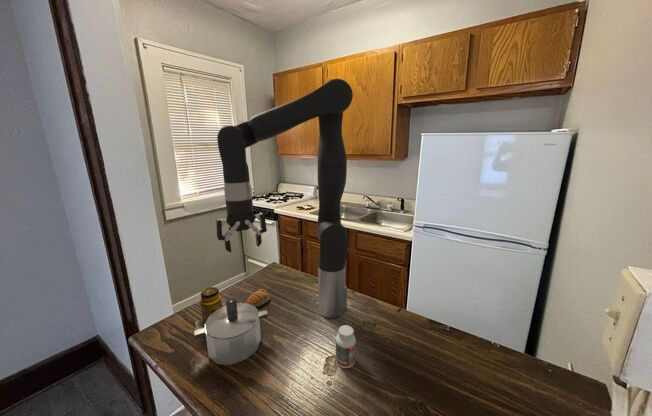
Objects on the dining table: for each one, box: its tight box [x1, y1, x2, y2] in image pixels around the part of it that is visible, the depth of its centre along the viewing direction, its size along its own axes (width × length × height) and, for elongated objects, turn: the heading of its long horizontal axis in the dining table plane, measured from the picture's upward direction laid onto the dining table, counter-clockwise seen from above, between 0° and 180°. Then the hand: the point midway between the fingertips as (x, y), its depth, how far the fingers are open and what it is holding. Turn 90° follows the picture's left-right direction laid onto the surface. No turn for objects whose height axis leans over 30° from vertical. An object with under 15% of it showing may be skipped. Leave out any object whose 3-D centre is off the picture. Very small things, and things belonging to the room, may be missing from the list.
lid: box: [205, 298, 259, 339], centre depth 72 cm, size 14×14×8 cm
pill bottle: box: [334, 324, 357, 369], centre depth 67 cm, size 5×5×10 cm
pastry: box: [244, 288, 271, 308], centre depth 94 cm, size 9×7×4 cm
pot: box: [193, 310, 269, 366], centre depth 73 cm, size 20×14×8 cm
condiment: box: [194, 286, 223, 330], centre depth 81 cm, size 7×8×12 cm
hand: (244, 248), depth 77 cm, fingers open, 8 cm apart
